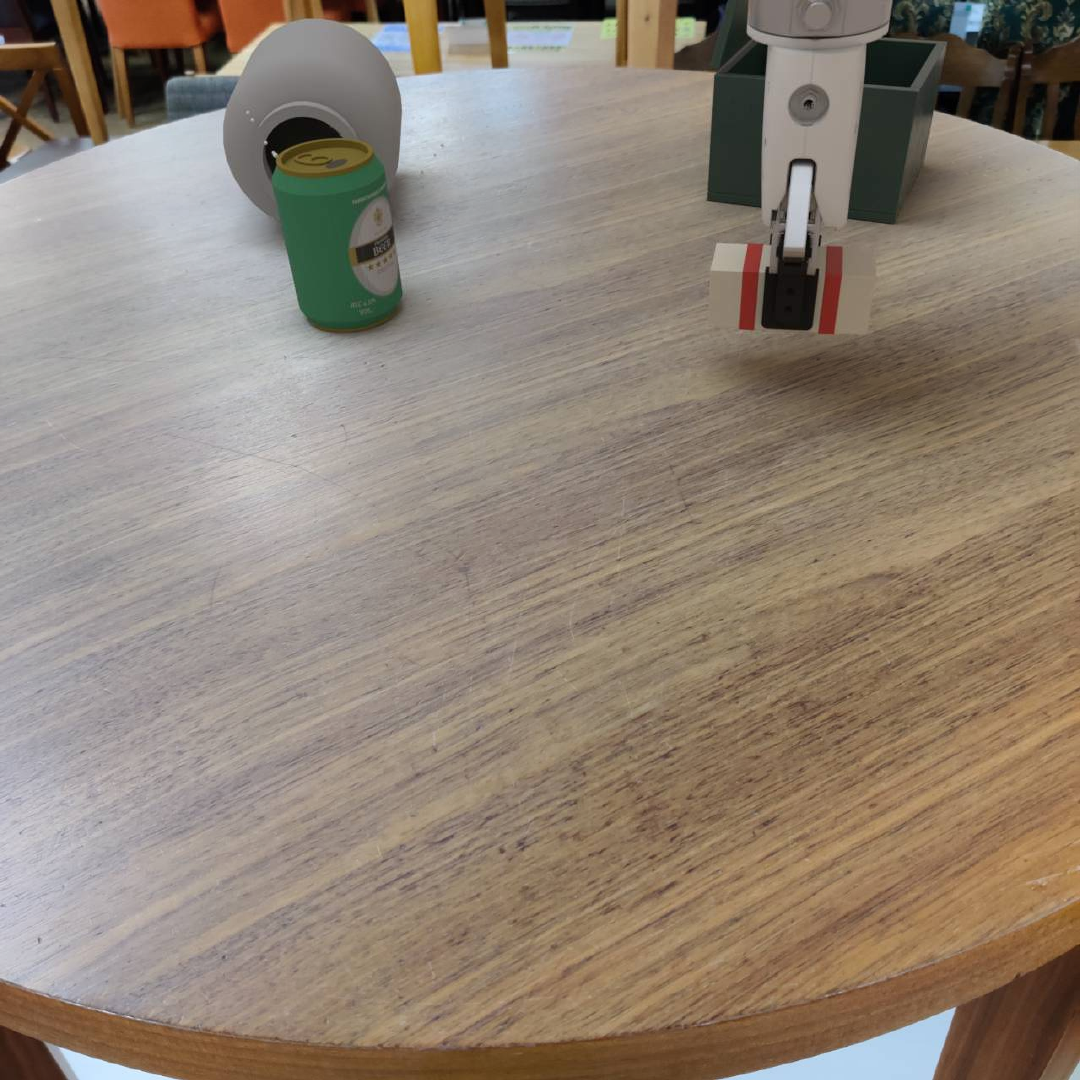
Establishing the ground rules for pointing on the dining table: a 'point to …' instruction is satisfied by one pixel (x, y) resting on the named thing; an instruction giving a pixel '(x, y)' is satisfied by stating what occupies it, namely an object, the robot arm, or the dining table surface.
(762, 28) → the robot arm
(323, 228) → the beverage can
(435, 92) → the dining table surface
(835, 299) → the red striped parcel
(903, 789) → the dining table surface
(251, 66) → the jar
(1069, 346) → the dining table surface
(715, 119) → the bin
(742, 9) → the bin lid
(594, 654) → the dining table surface
